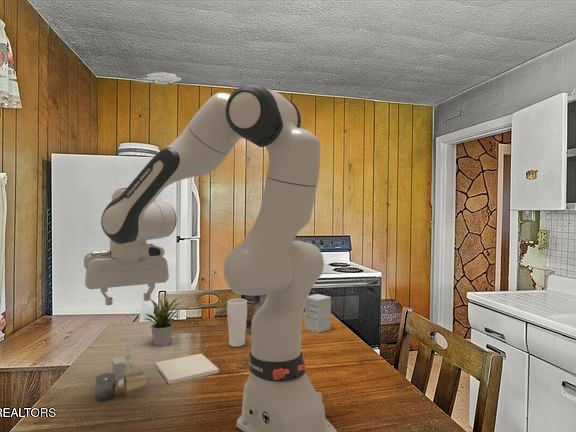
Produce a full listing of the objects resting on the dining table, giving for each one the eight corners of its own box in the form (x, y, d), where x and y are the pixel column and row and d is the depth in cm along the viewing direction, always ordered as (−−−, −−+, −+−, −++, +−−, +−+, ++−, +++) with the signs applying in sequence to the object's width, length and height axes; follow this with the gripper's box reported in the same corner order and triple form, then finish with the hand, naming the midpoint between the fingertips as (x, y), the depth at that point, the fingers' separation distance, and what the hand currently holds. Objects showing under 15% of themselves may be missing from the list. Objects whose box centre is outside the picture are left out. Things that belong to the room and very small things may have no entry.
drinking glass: (243, 349, 130) (243, 303, 130) (224, 347, 131) (224, 302, 131) (249, 342, 136) (249, 299, 136) (230, 340, 138) (231, 298, 138)
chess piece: (125, 378, 107) (125, 342, 107) (141, 380, 106) (141, 343, 106) (113, 386, 102) (113, 348, 102) (130, 388, 101) (130, 350, 101)
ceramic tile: (218, 372, 111) (218, 369, 111) (168, 384, 104) (168, 380, 104) (201, 356, 123) (201, 353, 123) (155, 365, 116) (155, 362, 115)
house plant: (194, 337, 141) (194, 292, 140) (176, 351, 127) (176, 301, 127) (157, 335, 143) (157, 290, 143) (135, 348, 129) (135, 299, 129)
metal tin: (117, 398, 96) (117, 378, 96) (97, 403, 93) (97, 382, 93) (114, 391, 100) (114, 371, 99) (94, 395, 97) (94, 375, 97)
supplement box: (317, 325, 157) (317, 293, 157) (331, 329, 152) (331, 296, 152) (304, 328, 152) (304, 296, 152) (318, 333, 147) (318, 299, 147)
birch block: (146, 394, 98) (146, 376, 98) (126, 398, 96) (126, 380, 96) (142, 387, 102) (142, 369, 102) (123, 391, 100) (123, 373, 100)
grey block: (132, 377, 108) (132, 361, 108) (114, 381, 106) (114, 364, 106) (129, 371, 112) (129, 355, 112) (111, 374, 109) (111, 358, 109)
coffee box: (240, 331, 149) (240, 288, 148) (251, 326, 154) (251, 285, 154) (258, 335, 143) (259, 291, 143) (269, 331, 149) (269, 288, 148)
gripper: (85, 253, 95) (85, 310, 95) (170, 249, 106) (170, 300, 106) (82, 250, 100) (82, 304, 101) (164, 246, 111) (164, 295, 112)
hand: (128, 302), depth 104 cm, fingers open, 8 cm apart
